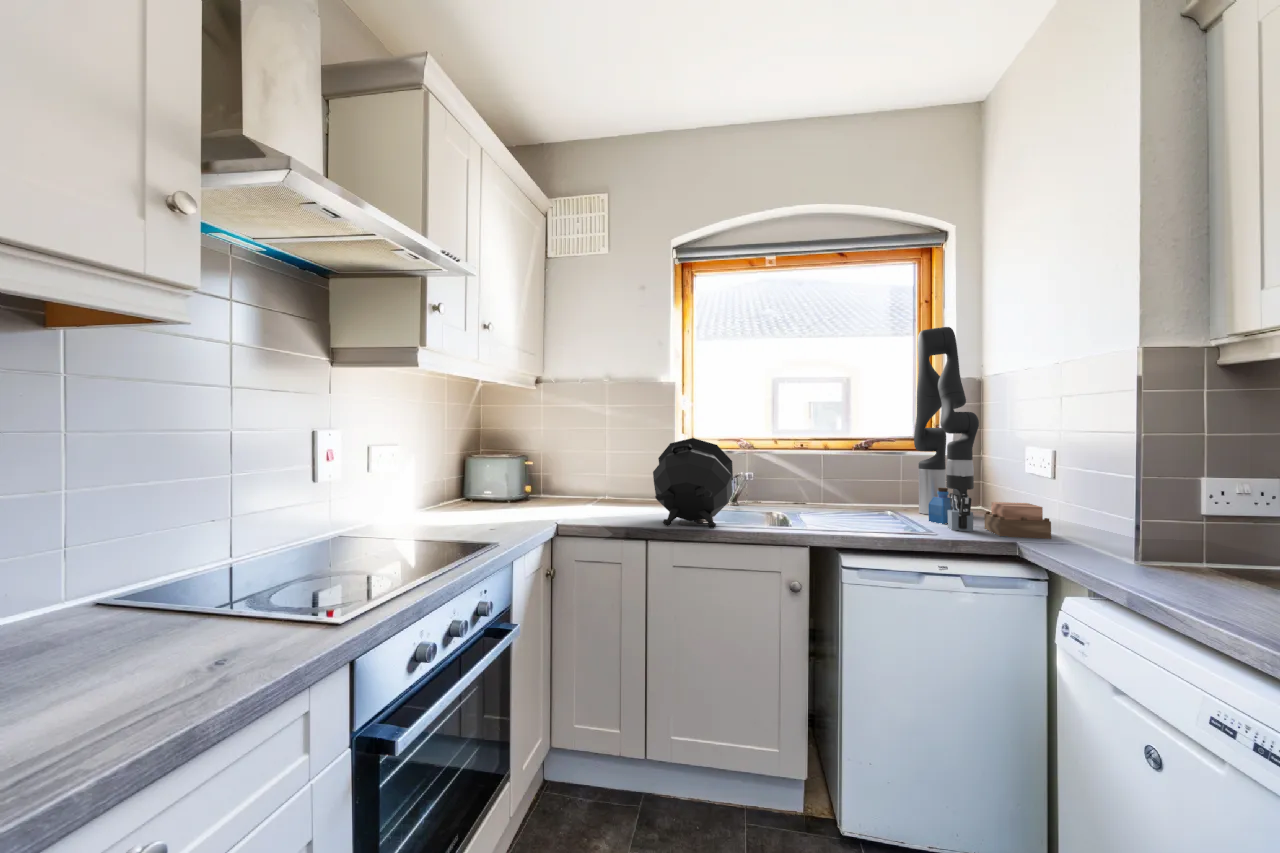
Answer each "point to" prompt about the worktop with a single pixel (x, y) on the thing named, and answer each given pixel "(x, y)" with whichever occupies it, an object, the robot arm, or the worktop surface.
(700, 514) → the cauldron
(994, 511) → the brown studded stepped block
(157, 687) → the worktop surface
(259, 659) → the worktop surface
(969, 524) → the grey brick
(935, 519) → the perfume bottle
